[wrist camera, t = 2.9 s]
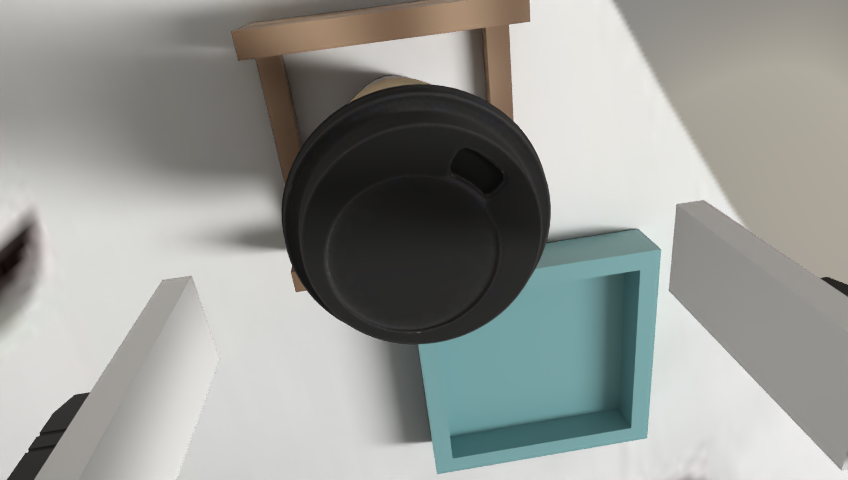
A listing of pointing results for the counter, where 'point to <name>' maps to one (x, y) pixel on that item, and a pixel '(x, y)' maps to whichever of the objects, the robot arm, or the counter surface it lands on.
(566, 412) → the tray
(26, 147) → the counter surface
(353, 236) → the coffee cup
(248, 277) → the counter surface
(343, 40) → the holder
